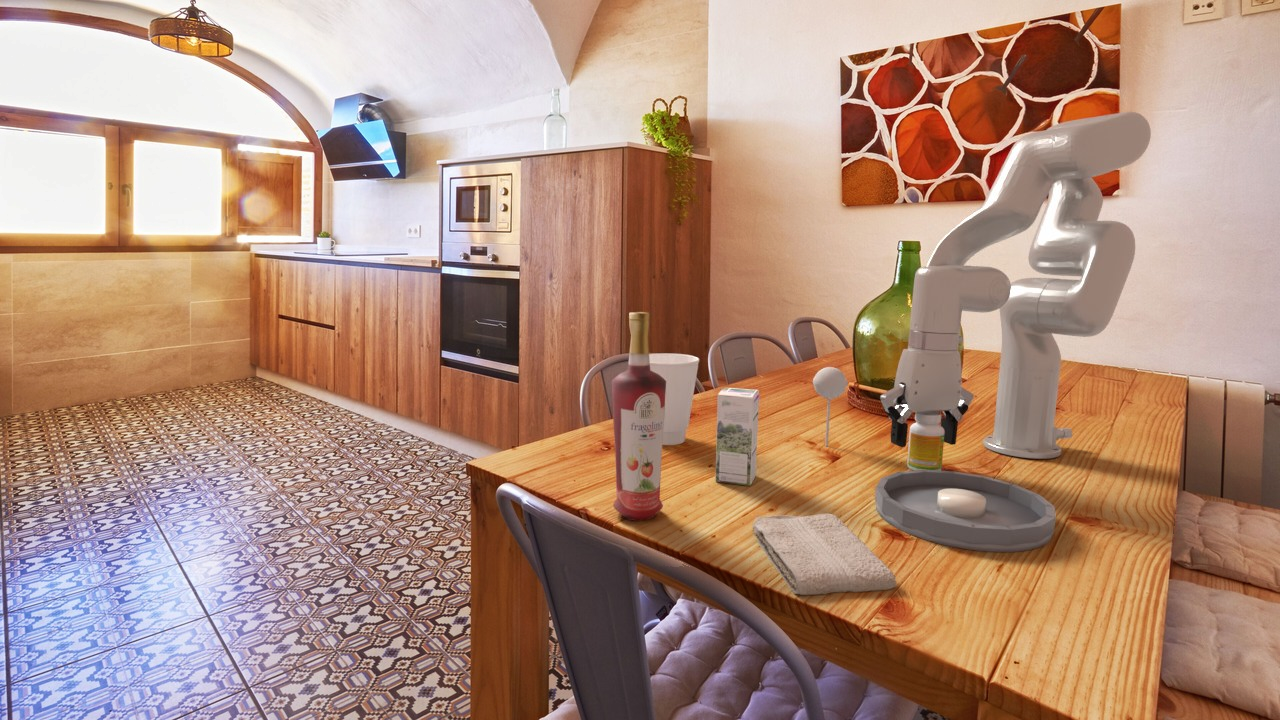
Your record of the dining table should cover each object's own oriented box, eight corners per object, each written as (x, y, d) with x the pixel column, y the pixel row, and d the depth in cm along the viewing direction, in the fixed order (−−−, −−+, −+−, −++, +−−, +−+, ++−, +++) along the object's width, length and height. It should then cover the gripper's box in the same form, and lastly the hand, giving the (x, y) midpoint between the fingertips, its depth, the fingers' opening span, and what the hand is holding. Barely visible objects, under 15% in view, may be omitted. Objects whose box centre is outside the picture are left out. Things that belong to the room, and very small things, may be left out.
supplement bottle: (944, 475, 111) (949, 417, 109) (910, 472, 112) (914, 415, 110) (937, 465, 116) (941, 410, 114) (904, 462, 117) (908, 408, 115)
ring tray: (968, 483, 107) (970, 465, 106) (1094, 541, 86) (1097, 519, 85) (845, 495, 101) (846, 476, 100) (948, 561, 80) (950, 537, 79)
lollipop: (807, 448, 125) (811, 368, 123) (812, 439, 130) (815, 363, 128) (842, 452, 123) (846, 371, 120) (845, 443, 128) (849, 365, 126)
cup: (679, 452, 122) (680, 365, 119) (624, 442, 128) (624, 359, 125) (708, 437, 132) (710, 356, 129) (656, 428, 138) (656, 351, 135)
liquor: (623, 528, 89) (624, 316, 84) (603, 508, 95) (603, 311, 91) (673, 519, 92) (676, 314, 87) (651, 501, 98) (653, 309, 94)
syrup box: (756, 475, 110) (760, 388, 107) (750, 487, 104) (753, 395, 102) (722, 471, 112) (724, 385, 109) (714, 483, 106) (716, 393, 104)
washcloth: (830, 527, 91) (832, 506, 90) (900, 595, 73) (903, 568, 73) (745, 532, 89) (746, 510, 88) (796, 603, 71) (797, 575, 71)
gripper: (960, 339, 116) (950, 435, 119) (873, 339, 111) (864, 439, 114) (994, 345, 109) (982, 447, 111) (902, 345, 104) (892, 452, 107)
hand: (923, 443), depth 113 cm, fingers open, 9 cm apart
